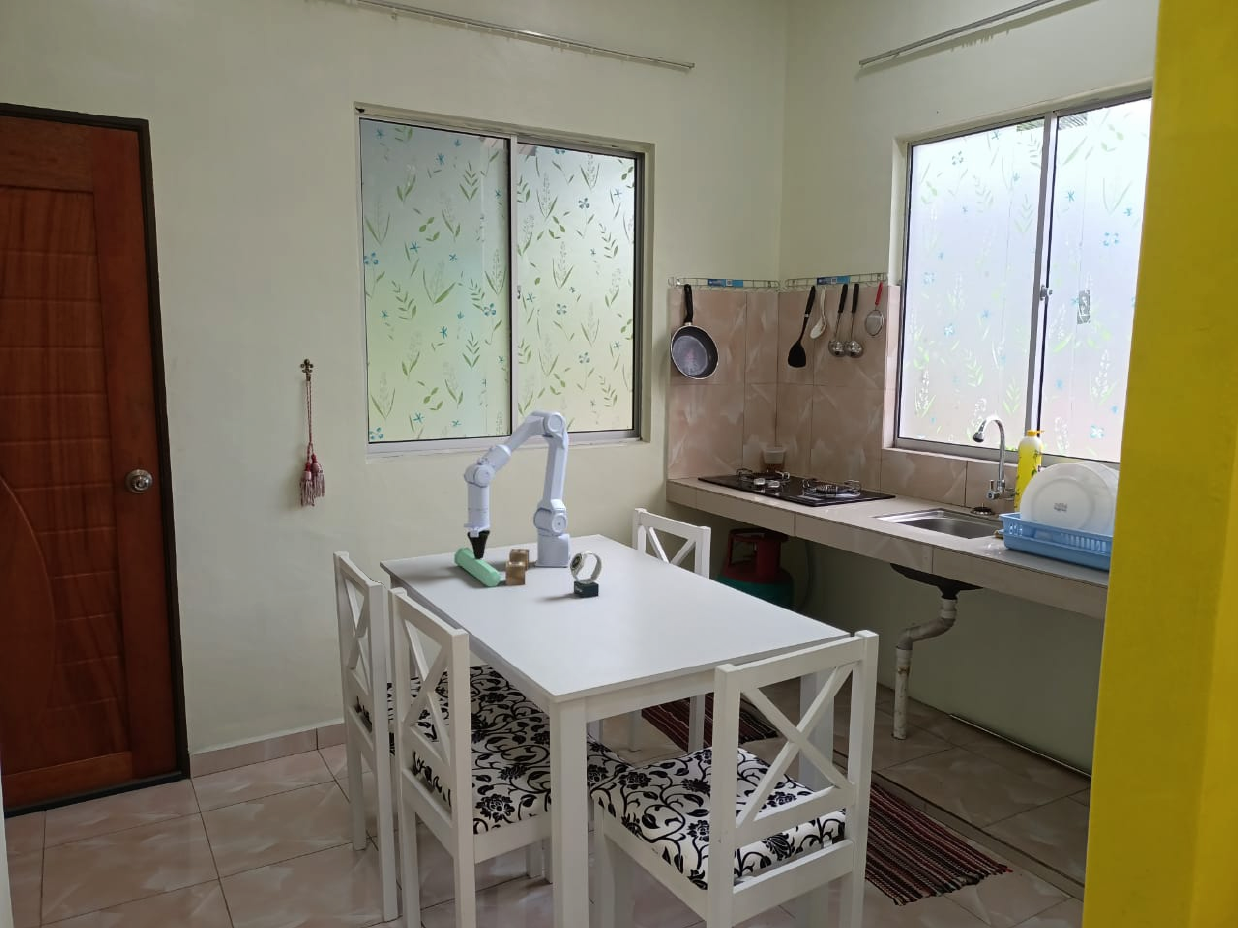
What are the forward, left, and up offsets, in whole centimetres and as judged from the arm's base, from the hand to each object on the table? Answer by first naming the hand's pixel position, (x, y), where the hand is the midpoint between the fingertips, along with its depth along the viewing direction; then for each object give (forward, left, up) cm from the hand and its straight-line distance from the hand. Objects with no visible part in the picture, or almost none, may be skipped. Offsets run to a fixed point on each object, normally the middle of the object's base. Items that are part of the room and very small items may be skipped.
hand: (478, 557), depth 246 cm
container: (0, +1, -5) cm, 5 cm away
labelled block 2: (-11, +7, -5) cm, 14 cm away
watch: (-30, +17, -5) cm, 35 cm away
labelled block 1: (-10, -8, -5) cm, 14 cm away
